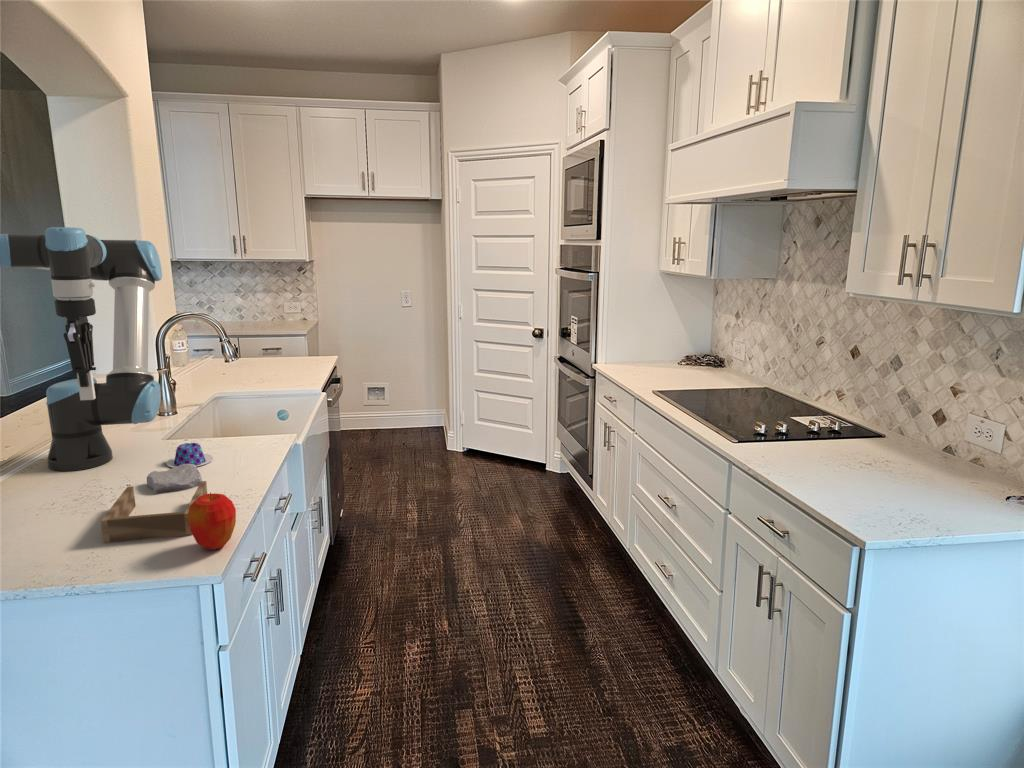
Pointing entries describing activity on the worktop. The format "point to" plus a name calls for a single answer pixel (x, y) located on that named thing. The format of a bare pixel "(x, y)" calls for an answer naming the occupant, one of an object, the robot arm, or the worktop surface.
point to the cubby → (144, 520)
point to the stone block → (174, 478)
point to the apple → (212, 520)
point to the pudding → (189, 455)
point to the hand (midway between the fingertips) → (88, 399)
